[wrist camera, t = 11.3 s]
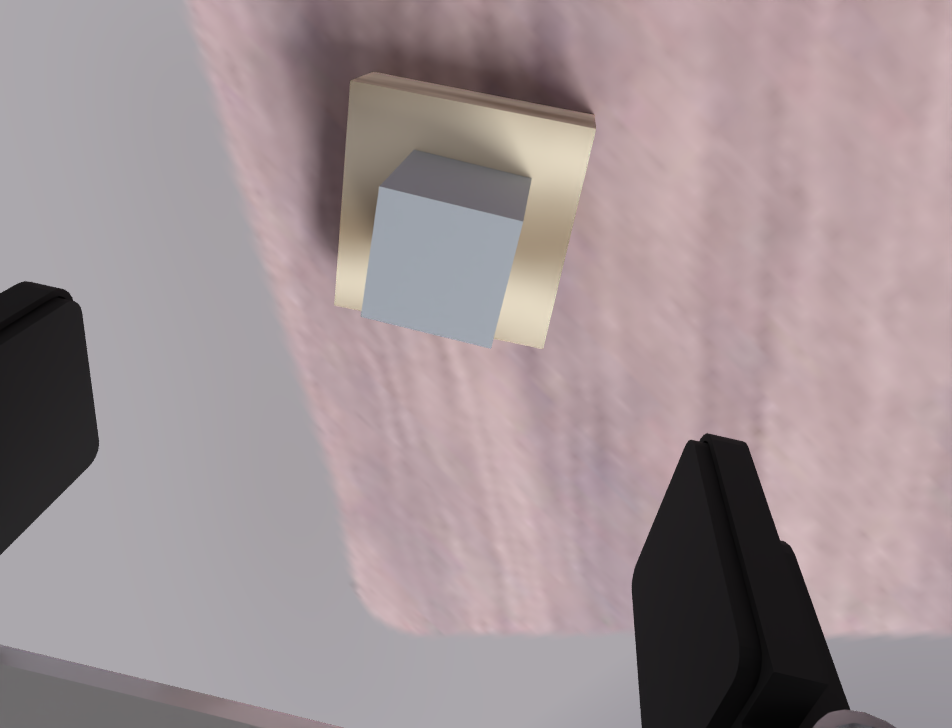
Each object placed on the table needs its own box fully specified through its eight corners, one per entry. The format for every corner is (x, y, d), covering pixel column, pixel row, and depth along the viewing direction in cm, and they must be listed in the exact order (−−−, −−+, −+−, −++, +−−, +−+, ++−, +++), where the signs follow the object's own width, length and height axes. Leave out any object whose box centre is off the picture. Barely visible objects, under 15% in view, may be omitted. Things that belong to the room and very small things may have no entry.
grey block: (414, 149, 29) (379, 186, 23) (531, 178, 29) (523, 221, 23) (395, 260, 31) (360, 316, 26) (504, 287, 31) (491, 348, 26)
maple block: (376, 70, 31) (350, 80, 28) (594, 113, 31) (596, 128, 27) (358, 275, 36) (334, 305, 33) (546, 314, 36) (543, 348, 32)
